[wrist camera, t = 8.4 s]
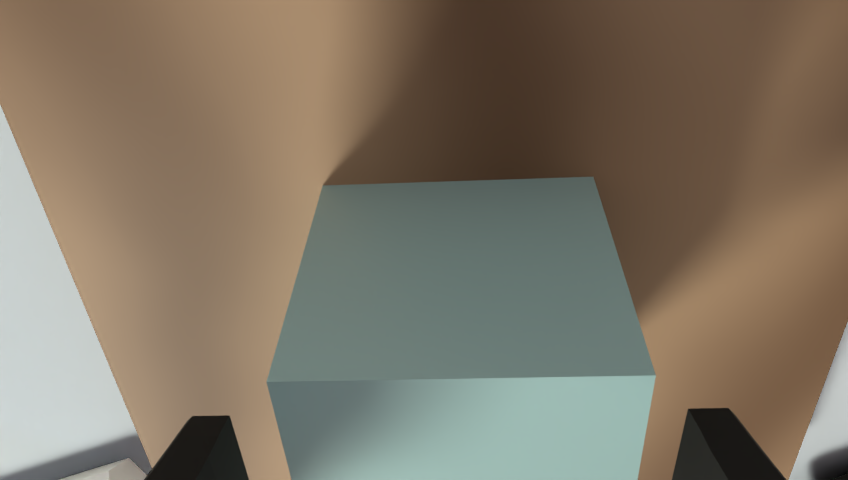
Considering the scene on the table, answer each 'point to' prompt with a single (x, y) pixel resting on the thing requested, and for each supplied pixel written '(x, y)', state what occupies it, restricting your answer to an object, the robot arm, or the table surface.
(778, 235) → the stub board
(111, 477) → the marker
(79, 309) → the table surface
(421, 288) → the mint green cube
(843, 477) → the electric trimmer
